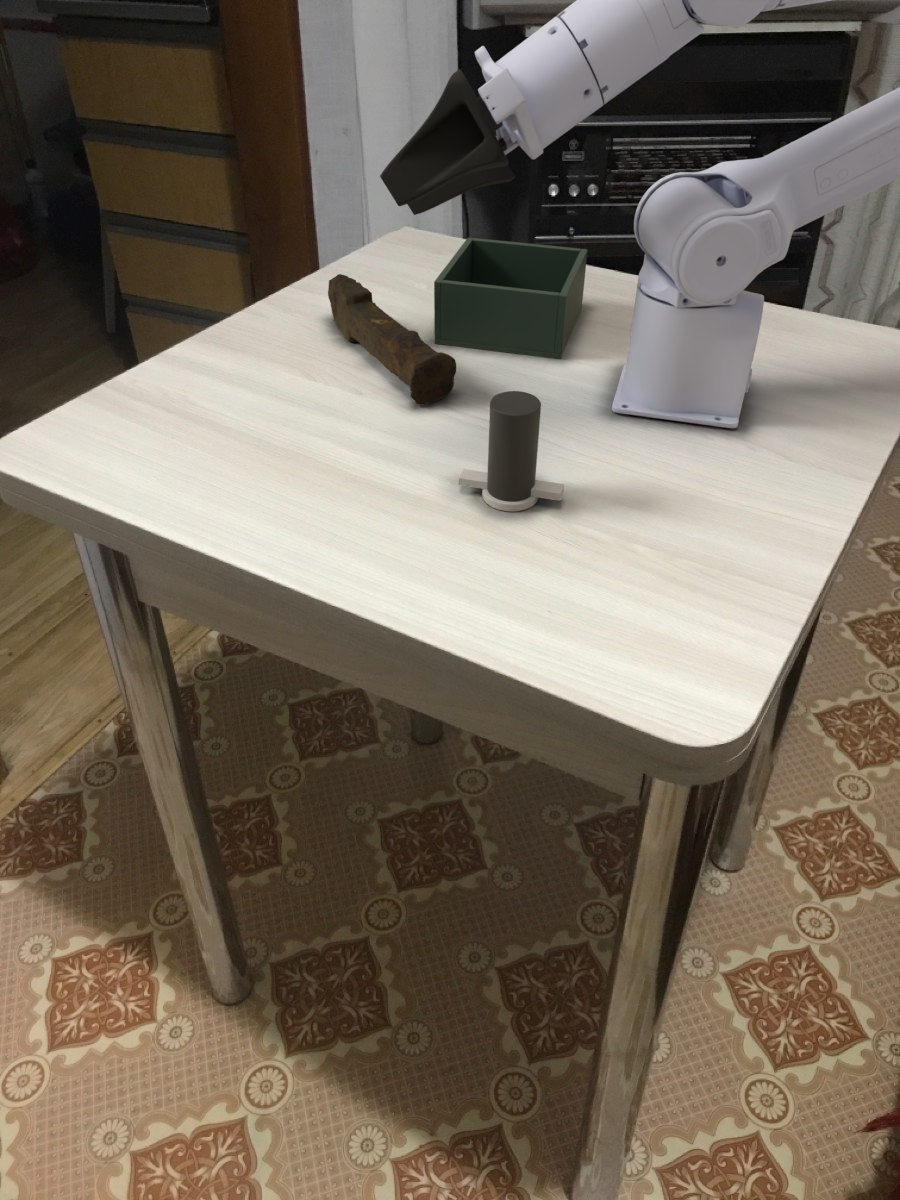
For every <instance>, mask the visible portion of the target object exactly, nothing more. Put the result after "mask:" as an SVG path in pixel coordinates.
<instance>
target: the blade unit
mask: <svg viewBox="0 0 900 1200" xmlns="http://www.w3.org/2000/svg"><path fill="white" fill-rule="evenodd" d="M541 411H542V402H541V400H540V399H539V397H537V396H536V395H534V394H531V393H530V392H526V391H519V390H507V391H503V392H500V393H497V394H495V395H494V396H492V398H491V399H490V401H489V421H488V447H487V448H488V449H487V450H488V452H487V471H480V470H473V469H467V468H462V469H461V472H460V473H459V476H458V486H463V487H470V488H475V489H481V491H482V492H481V494H482V495H481V496H482V499H483V500H484V502H485V503H486V504H487V505H488V506H490V507H491V508H493V509H496V510H499V511H503V512H521V511H525V510H528V509H530V508H532V507H534V505H536V504H537V502H538V500H539V499H545V500H552V501H559V502H561V500H562V497H563V495H564V492H565V491H564V490H565V484H564V483H558V482H554V481H545V480H541V479H540V480H539V479H536V478H537V477H536V475H537V465H538V464H537V463H538V450H539V449H538V448H539V438H540V425H541V424H540V422H541Z"/></svg>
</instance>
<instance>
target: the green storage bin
mask: <svg viewBox="0 0 900 1200" xmlns="http://www.w3.org/2000/svg"><path fill="white" fill-rule="evenodd" d="M588 252H589V251H588V249H587V248H580V247H579V248H578V247H567V246H558V245H548V244H538V243H530V242H529V243H527V242H519V241H518V242H517V241H509V240H499V239H498V240H497V239H486V238H477V237H467V238H466V239H465V241H464V242H463V243H462V244H461V246H460V247H459V249H458V250H457V251H456V252H455V253H454V255H453V257H452V258H450V260H449V262H448V263H447V264H446V266H445V267H444V268H443V269H442V271H440V273H439V274H438V276H437V277H436V279H435V280H434V281H433V300H434V301H433V303H434V305H433V307H434V309H433V312H434V313H433V314H434V315H433V316H434V319H433V320H434V321H433V322H434V344H438V345H446V346H453V347H460V348H468V349H469V348H470V349H477V350H486V351H494V352H501V353H509V354H510V353H511V354H516V355H517V354H519V355H525V356H532V357H533V356H534V357H541V358H542V357H543V358H549V359H550V358H551V359H558V360H561V359H562V357H563V355H564V352H565V349H566V347H567V345H568V342H569V339H570V337H571V335H572V332H573V331H574V328H575V325H576V323H577V320H578V318H579V316H580V313H581V311H582V307H583V301H584V300H583V299H584V290H585V282H586V281H585V280H586V270H587V261H588V260H587V259H588Z"/></svg>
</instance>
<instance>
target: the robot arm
mask: <svg viewBox="0 0 900 1200" xmlns="http://www.w3.org/2000/svg"><path fill="white" fill-rule="evenodd" d="M831 1H832V2H833V1H834V0H575V1H573V2H572V3H571V4H570V5H568V6H567V7H566V8H565V9H562V11H561V12H559V13H558V14H557V15H556V16H554V17H552V19H551V20H549V21H548V22H547V23H545V24H544V25H543V26H541V27H539V29H537V30H536V31H534V33H532V34H531V35H530V36H528V37H527V38H526V39H524V40H523V41H522V42H521V43H519V44H517V45H516V46H515V47H514V48H513V49H511V50H510V51H509V52H507V53H506V54H504V55H503V56H502V57H501V58H500V59H498V60H497V61H494V60H493V59H492V57H491V55H490V54H489V52H488V50H487V48H486V46H484V45H481V46H480V47H479V48H478V49H476V50H475V51H474V56H475V59H476V61H477V63H478V64H479V66H480V68H481V73H482V76H483V79H484V81H485V83H484V84H483V85H481V86H480V87H479V88H478V89H477V91H478V94H479V95H478V96H477V94H476V93H475V91H474V89H473V88H472V86H471V84H470V82H469V80H468V79H467V77H466V76H465V74H464V72H463V71H462V69H460V68H458V69H457V70H456V71H454V72H453V73H452V75H451V76H450V78H449V79H448V80H447V83H446V84H445V87H444V89H443V91H442V92H441V93H442V94H440V97H439V99H438V100H437V102H436V104H435V106H434V107H433V109H432V110H431V112H430V114H429V115H428V116H427V118H426V119H425V121H424V122H423V123H422V125H421V126H420V127H419V128H418V130H417V131H416V132H415V133H414V134H413V135H412V137H411V138H409V140H408V141H407V142H406V144H405V145H403V147H402V148H401V149H400V150H399V151H398V152H397V153H396V154H395V156H393V158H392V159H391V160H390V162H389V163H388V164H387V165H386V166H385V168H384V169H383V171H382V172H381V174H379V178H380V179H381V181H382V182H383V184H384V186H385V187H386V188H387V190H388V192H389V194H390V195H391V197H392V199H393V200H394V201H395V203H396V205H397V206H398V207H402V206H406V205H407V207H408V208H409V209H410V211H411V213H412V214H413V215H414V216H417V215H419V214H420V215H421V214H422V213H425V212H428V211H429V210H433V209H434V208H436V207H438V206H440V205H442V204H444V203H446V202H449V201H450V200H453V199H455V198H457V197H459V196H461V195H463V194H466V193H469V192H471V191H474V190H477V189H480V188H484V187H487V186H492V185H498V184H505V183H509V182H512V181H513V180H514V179H515V178H516V175H515V173H514V172H513V170H512V168H511V165H509V159H508V157H507V155H508V154H509V153H511V152H513V150H515V149H516V148H517V147H520V148H521V149H522V150H523V151H524V153H525V154H526V155H527V156H528V157H529V158H530V159H531V160H536V159H537V158H538V157H540V156H541V155H542V154H544V149H545V148H546V147H548V146H549V145H551V144H552V143H553V142H555V141H557V140H558V139H559V138H560V137H562V136H563V135H564V134H566V133H567V132H568V131H569V132H570V130H571V129H573V128H574V127H576V126H577V125H578V124H580V123H581V122H583V121H584V120H585V119H587V118H588V117H589V116H591V115H593V114H594V113H595V112H596V111H598V110H599V109H600V108H602V107H603V106H604V105H606V104H608V102H610V101H611V100H612V99H614V98H616V97H617V96H618V95H620V94H621V93H623V92H624V91H625V90H627V89H628V88H629V87H631V86H632V85H633V84H635V83H636V82H637V81H639V80H641V78H643V77H644V76H646V75H647V74H648V73H650V72H651V71H653V70H654V69H656V68H657V67H658V66H659V65H661V64H663V63H664V62H665V61H666V60H668V59H669V58H670V57H671V56H672V55H673V54H674V53H676V52H677V51H679V50H680V49H682V48H683V47H684V46H686V45H687V44H688V43H690V42H691V41H692V40H694V39H695V38H697V37H698V36H700V35H701V34H702V33H703V32H705V26H704V25H701V24H699V23H698V22H700V23H702V24H706V25H708V26H715V27H730V28H732V29H738V28H741V27H743V26H744V25H746V24H748V23H749V22H751V21H752V20H754V19H755V18H756V17H757V16H758V15H759V14H760V13H761V12H769V11H776V10H782V9H788V8H789V9H790V8H794V7H801V6H806V5H815V4H820V3H826V2H827V3H828V2H831ZM695 20H696V21H695ZM697 21H698V22H697ZM899 179H900V86H899V87H897V88H895V89H893V90H892V91H890V92H888V93H886V94H884V95H882V96H880V97H877V98H876V99H874V100H872V101H870V102H868V103H866V104H864V105H862V106H860V107H858V108H856V109H854V110H852V111H850V112H848V113H847V114H844V115H842V116H840V117H839V118H837V119H835V120H833V121H830V122H829V123H827V124H825V125H823V126H821V127H819V128H817V129H815V130H813V131H811V132H809V133H807V134H806V135H803V136H801V137H799V138H798V139H796V140H794V141H791V142H790V143H788V144H785V145H784V146H781V147H780V148H777V149H775V150H774V151H772V152H770V153H768V154H766V155H763V156H762V157H756V158H749V159H747V158H746V159H737V160H728V161H721V162H719V163H717V164H715V165H713V166H710V167H709V168H706V169H704V170H700V171H692V172H690V171H689V172H687V171H679V172H674V173H670V174H667V175H666V176H663V177H662V178H659V180H658V179H657V181H655V182H654V183H653V184H652V185H651V186H650V187H649V188H648V189H647V190H646V192H644V194H643V195H642V197H641V199H640V200H639V202H638V204H637V207H636V210H635V214H634V219H633V232H634V237H635V240H636V242H637V244H638V246H639V247H640V249H641V250H642V251H643V252H644V256H643V264H642V266H641V268H640V270H639V273H638V276H637V284H636V291H635V298H634V305H633V312H632V319H631V320H632V321H631V326H630V332H629V342H628V349H627V356H626V362H625V364H624V365H623V366H622V370H621V374H620V377H619V380H618V384H617V387H616V391H615V395H614V397H613V401H612V405H611V411H612V412H613V413H616V414H622V415H628V416H629V415H631V416H635V417H636V416H637V417H644V418H652V419H659V420H667V421H674V422H682V423H688V424H694V425H695V424H696V425H703V426H711V427H717V428H718V427H720V428H725V429H736V428H738V426H739V423H740V416H741V411H742V408H743V402H744V399H745V395H746V393H748V392H749V389H750V385H751V382H752V376H753V375H752V374H753V368H752V366H753V365H752V364H753V361H754V356H755V352H756V347H757V343H758V339H759V334H760V330H761V329H760V327H761V324H762V318H763V312H764V305H765V296H764V295H763V294H760V293H757V292H752V291H747V290H745V289H746V288H747V287H748V286H749V285H750V284H751V283H752V282H753V281H754V280H755V278H756V277H757V276H758V275H759V274H761V273H762V272H763V271H764V270H766V269H767V268H770V267H771V266H773V265H775V264H777V263H778V262H780V261H783V260H784V259H785V258H786V256H787V253H788V251H789V249H790V248H789V247H790V244H791V239H792V236H793V233H794V232H795V230H797V229H799V228H801V227H803V226H806V225H808V224H809V223H811V222H813V221H816V220H818V219H820V218H822V217H824V216H826V215H828V214H830V213H832V212H833V211H836V210H838V209H840V208H842V207H844V206H846V205H848V204H850V203H852V202H854V201H857V200H858V199H860V198H862V197H864V196H866V195H868V194H870V193H872V192H875V191H876V190H879V189H880V188H882V187H884V186H887V185H888V184H891V183H892V182H894V181H896V180H899Z"/></svg>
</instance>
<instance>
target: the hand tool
mask: <svg viewBox="0 0 900 1200" xmlns="http://www.w3.org/2000/svg"><path fill="white" fill-rule="evenodd" d="M327 296H328V300H329V303H330V308H331V314H332V318H333V321H334V323H335V324H336V327H337V329H338V330H340V332H341V333H342V335H343V337H344V338H345V339H346V341H348V342H351V343H359V344H360V345H361V346H362V347H363V348H364V349H365V351H367V352H368V354H369V355H372V356H373V357H374V358H376V359H377V360H378V361H379V362H380V363H381V364H382V365H383V366H384V367H385V368H386V369H387V370H388V371H389V372H390V373H391V374H392V375H394V376H395V377H397V378H398V380H400V381H401V382H402V383H404V384H405V385H406V386H407V387H408V388H409V390H410V399H412V401H414V402H415V404H416V405H419V406H423V405H426V404H432V403H434V402H437V401H440V400H441V399H443V398H446V397H447V396H448V395H449V394H450V393H451V392H452V391H453V389H454V386H455V377H456V374H457V362H456V359H455V357H453V356H451V355H450V354H448V353H445V352H441V351H439V352H438V351H436V350H435V349H434V348H432V347H431V346H430V345H429V344H427V343H426V342H425V341H424V340H422V338H421V336H420V335H419V332H418V331H416V330H412V329H411V330H409V329H408V328H407V327H405V326H403V325H402V324H401V323H400V322H398V321H397V320H396V319H395V318H393V317H392V316H390V315H389V314H388V313H387V312H385V311H384V310H383V309H381V308H380V307H379V306H377V304H376V302H374V301H373V293H372V292H371V291H370V290H369V289H368V288H366V287H364V286H363V284H362V283H361V282H359V281H357V280H356V279H354V278H352V277H349V276H348V275H345V274H341V273H338V274H337V275H336V276H334V277H332V278H331V279H329V280H328V289H327Z"/></svg>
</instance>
